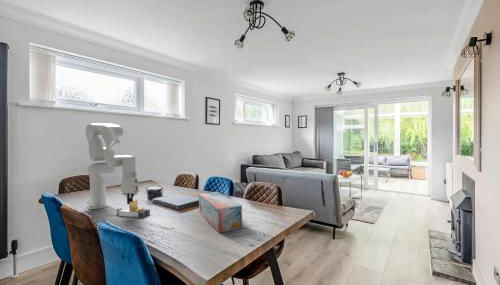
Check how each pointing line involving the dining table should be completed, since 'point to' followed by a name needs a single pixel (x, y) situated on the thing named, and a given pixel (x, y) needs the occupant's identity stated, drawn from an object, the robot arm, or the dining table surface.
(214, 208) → the soda box
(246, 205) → the dining table surface
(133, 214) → the tongs arm
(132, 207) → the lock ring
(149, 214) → the tongs fixed arm
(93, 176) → the robot arm
